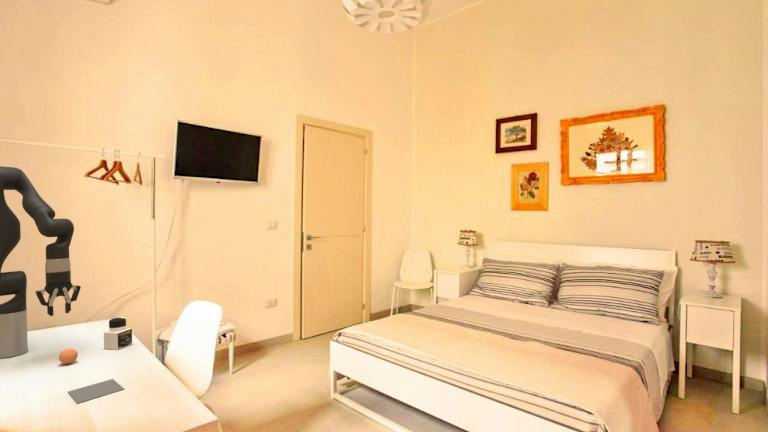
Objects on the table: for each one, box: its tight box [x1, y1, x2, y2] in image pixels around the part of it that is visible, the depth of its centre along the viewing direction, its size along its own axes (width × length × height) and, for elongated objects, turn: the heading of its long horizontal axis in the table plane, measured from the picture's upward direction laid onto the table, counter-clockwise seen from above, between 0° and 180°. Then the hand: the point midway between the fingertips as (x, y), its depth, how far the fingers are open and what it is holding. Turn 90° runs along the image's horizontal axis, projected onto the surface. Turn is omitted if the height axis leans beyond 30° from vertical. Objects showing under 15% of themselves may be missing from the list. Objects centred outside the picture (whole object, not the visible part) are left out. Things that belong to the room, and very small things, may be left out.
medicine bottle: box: [103, 316, 133, 351], centre depth 166 cm, size 7×7×12 cm
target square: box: [67, 378, 125, 405], centre depth 124 cm, size 12×12×1 cm
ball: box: [58, 348, 79, 365], centre depth 148 cm, size 6×6×6 cm
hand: (59, 314), depth 153 cm, fingers open, 4 cm apart
